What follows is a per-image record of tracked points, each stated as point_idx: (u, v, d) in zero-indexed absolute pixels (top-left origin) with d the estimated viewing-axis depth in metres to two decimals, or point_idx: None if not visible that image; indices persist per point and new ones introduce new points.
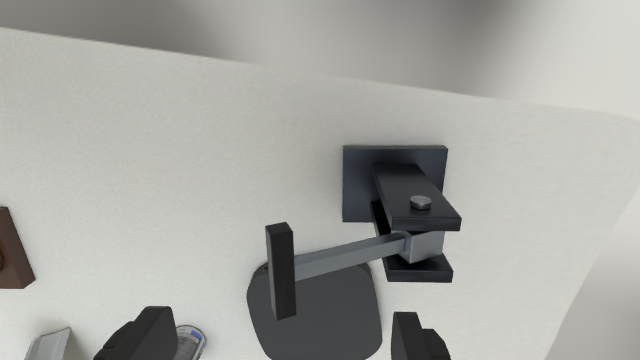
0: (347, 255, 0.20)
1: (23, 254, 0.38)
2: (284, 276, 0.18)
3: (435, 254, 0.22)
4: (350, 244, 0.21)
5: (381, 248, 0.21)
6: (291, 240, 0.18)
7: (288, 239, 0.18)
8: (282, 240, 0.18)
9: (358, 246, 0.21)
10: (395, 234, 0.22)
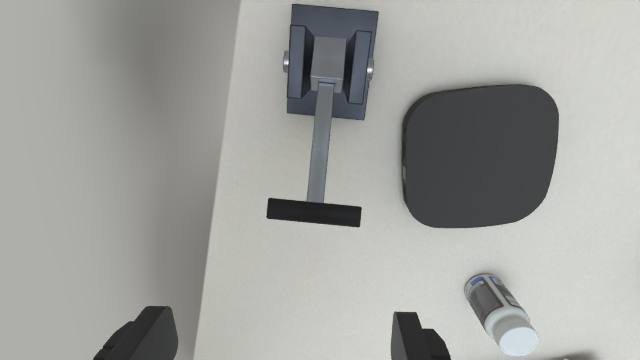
0: (314, 147, 0.21)
1: None
2: (311, 212, 0.20)
3: (343, 47, 0.20)
4: None
5: (320, 109, 0.21)
6: (276, 200, 0.20)
7: (274, 203, 0.20)
8: (274, 208, 0.20)
9: (313, 133, 0.21)
10: None
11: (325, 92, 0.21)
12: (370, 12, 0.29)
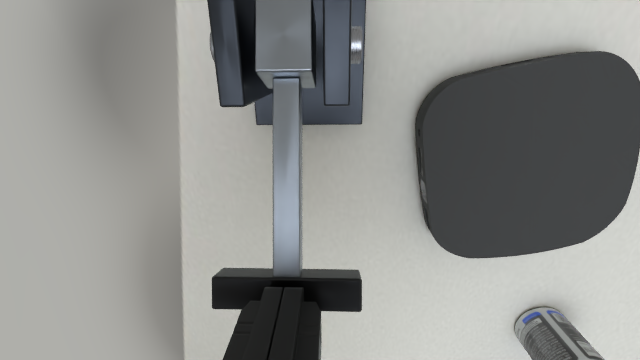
0: (277, 188, 0.13)
1: None
2: None
3: (306, 12, 0.12)
4: None
5: (280, 124, 0.13)
6: (225, 280, 0.13)
7: (222, 284, 0.13)
8: (222, 293, 0.13)
9: (274, 163, 0.13)
10: None
11: (285, 93, 0.13)
12: None
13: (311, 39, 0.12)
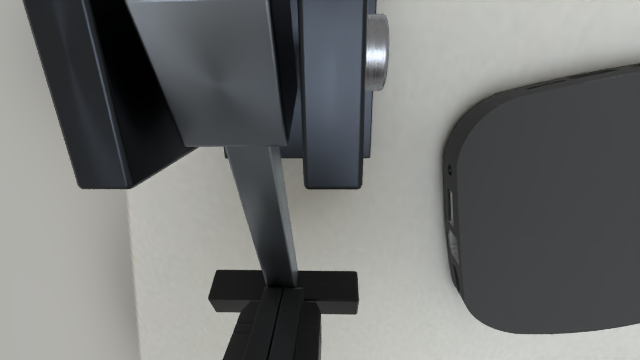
0: (259, 244, 0.10)
1: None
2: None
3: (261, 38, 0.05)
4: None
5: (248, 187, 0.08)
6: (221, 300, 0.13)
7: (220, 302, 0.13)
8: (221, 306, 0.13)
9: None
10: None
11: (248, 150, 0.07)
12: None
13: (280, 94, 0.06)
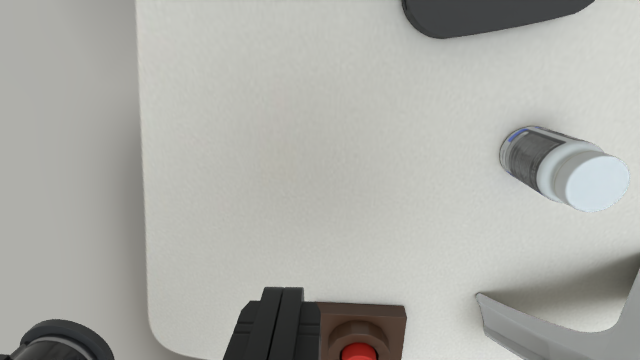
0: None
1: (369, 305, 0.35)
2: None
3: None
4: None
5: None
6: None
7: None
8: None
9: None
10: None
11: None
12: None
13: None
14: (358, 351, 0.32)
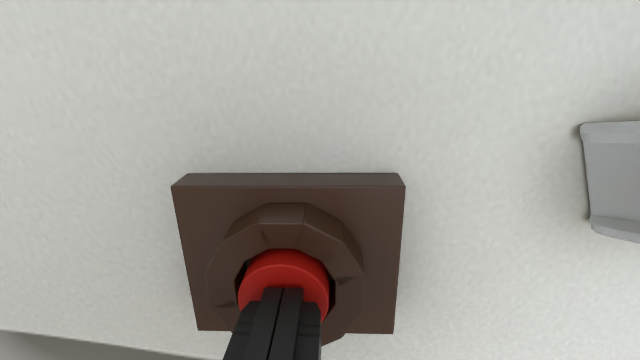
0: None
1: (314, 174, 0.15)
2: None
3: None
4: None
5: None
6: None
7: None
8: None
9: None
10: None
11: None
12: None
13: None
14: (277, 257, 0.12)
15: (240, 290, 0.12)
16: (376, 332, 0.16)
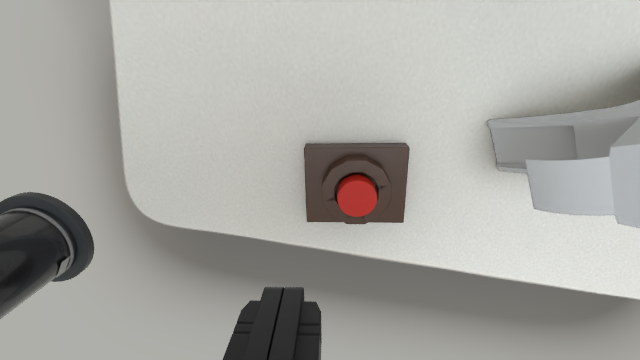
0: None
1: (366, 143, 0.31)
2: None
3: None
4: None
5: None
6: None
7: None
8: None
9: None
10: None
11: None
12: None
13: None
14: (355, 178, 0.28)
15: (339, 193, 0.28)
16: (395, 221, 0.33)
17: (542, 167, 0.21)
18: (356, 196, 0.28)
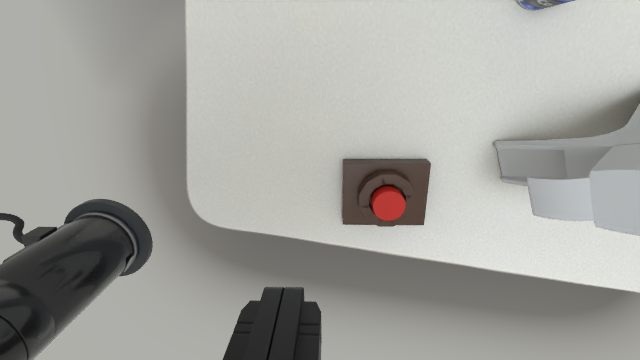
0: None
1: (394, 159, 0.38)
2: None
3: None
4: None
5: None
6: None
7: None
8: None
9: None
10: None
11: None
12: None
13: None
14: (387, 189, 0.35)
15: (374, 201, 0.35)
16: (417, 224, 0.39)
17: (540, 184, 0.27)
18: (388, 204, 0.35)
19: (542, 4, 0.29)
